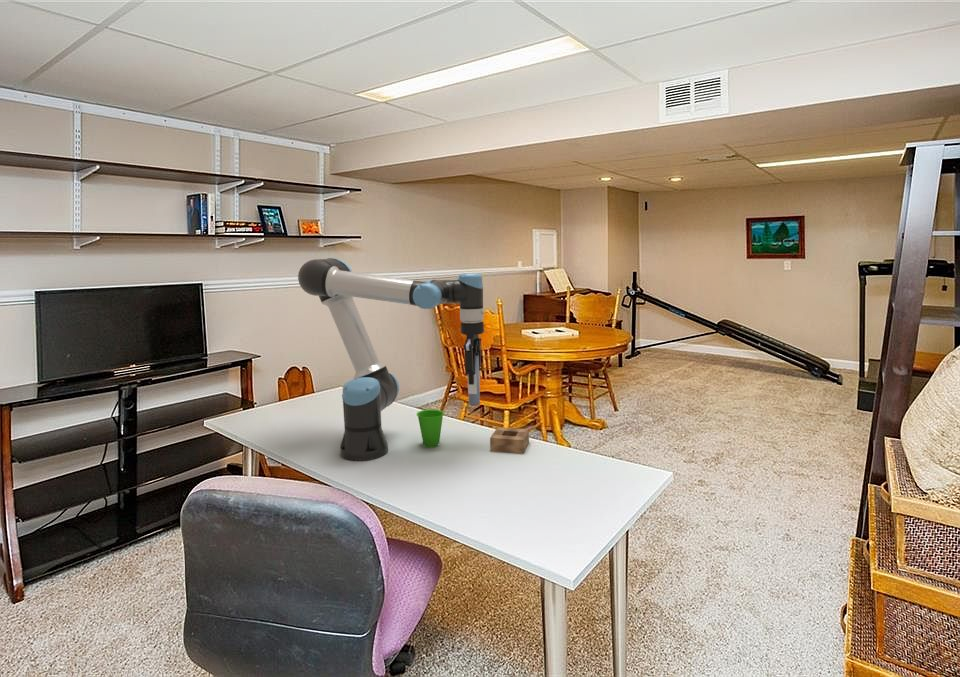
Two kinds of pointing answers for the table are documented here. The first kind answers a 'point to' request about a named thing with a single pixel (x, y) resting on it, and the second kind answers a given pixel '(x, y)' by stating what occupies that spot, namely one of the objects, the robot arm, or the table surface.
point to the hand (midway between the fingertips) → (474, 391)
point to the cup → (430, 426)
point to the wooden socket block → (509, 440)
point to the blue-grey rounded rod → (475, 398)
